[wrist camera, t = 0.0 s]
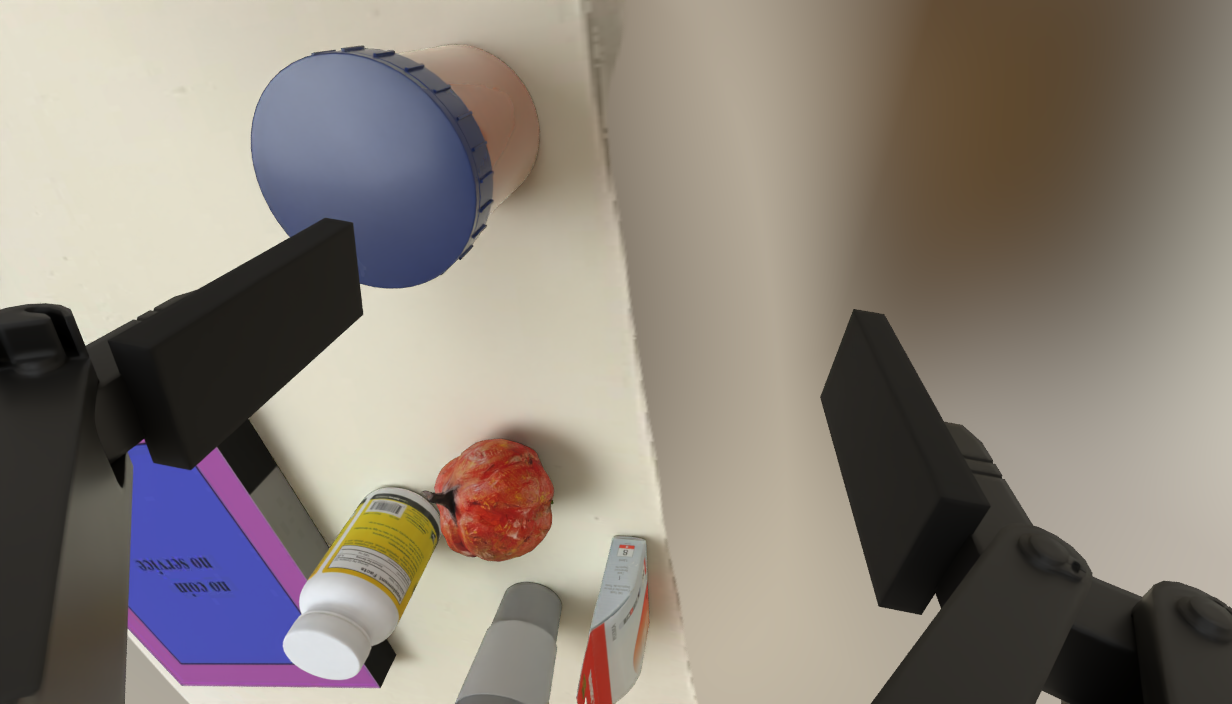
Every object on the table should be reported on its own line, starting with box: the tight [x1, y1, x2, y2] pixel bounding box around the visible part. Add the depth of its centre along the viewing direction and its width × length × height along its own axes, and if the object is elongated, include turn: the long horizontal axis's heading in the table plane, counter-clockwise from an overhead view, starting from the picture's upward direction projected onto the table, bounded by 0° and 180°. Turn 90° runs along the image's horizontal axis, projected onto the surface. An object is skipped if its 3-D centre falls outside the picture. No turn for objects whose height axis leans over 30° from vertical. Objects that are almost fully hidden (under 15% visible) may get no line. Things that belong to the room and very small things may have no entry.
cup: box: [455, 582, 562, 704], centre depth 42 cm, size 7×7×12 cm
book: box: [127, 419, 396, 688], centre depth 47 cm, size 21×3×30 cm
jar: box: [396, 44, 539, 215], centre depth 25 cm, size 7×7×10 cm
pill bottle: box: [283, 487, 441, 680], centre depth 39 cm, size 6×6×11 cm
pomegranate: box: [421, 439, 554, 562], centre depth 37 cm, size 7×7×10 cm
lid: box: [251, 46, 494, 288], centre depth 21 cm, size 8×8×2 cm
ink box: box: [576, 536, 650, 704], centre depth 39 cm, size 3×9×12 cm, turn 3°
